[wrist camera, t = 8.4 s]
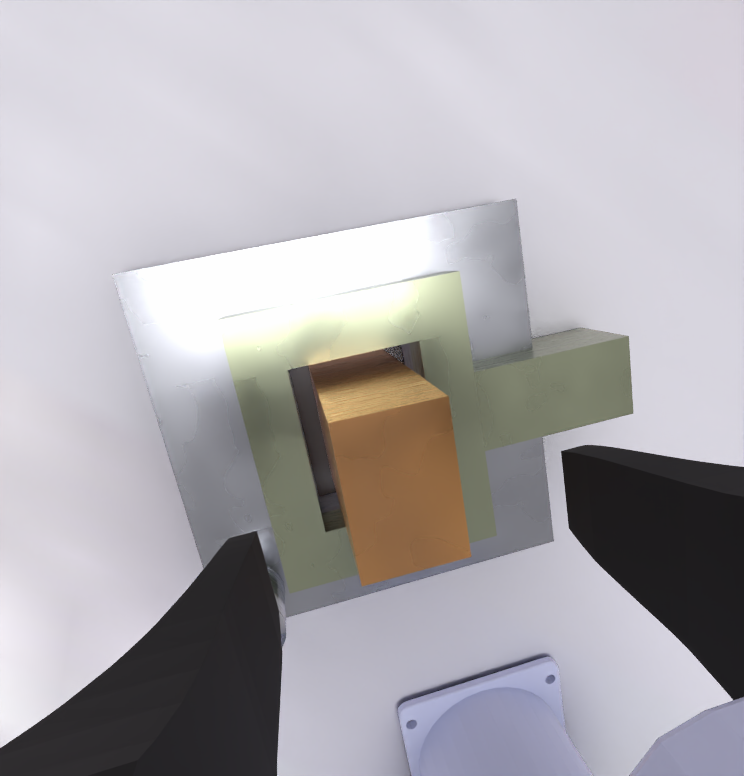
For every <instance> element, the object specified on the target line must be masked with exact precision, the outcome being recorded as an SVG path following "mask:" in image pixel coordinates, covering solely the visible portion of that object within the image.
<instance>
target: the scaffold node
mask: <svg viewBox="0 0 744 776" xmlns="http://www.w3.org/2000/svg"><path fill="white" fill-rule="evenodd" d="M112 276H113V279H114V282H115V285H116V289H117V292H118V295H119V298H120V301H121V305H122V308H123V311H124V314H125V318H126V321H127V324H128V327H129V330H130V334H131V337H132V340H133V343H134V346H135V350H136V353H137V356H138V359H139V362H140V366H141V369H142V372H143V375H144V379H145V382H146V385H147V388H148V391H149V395H150V398H151V401H152V404H153V407H154V411H155V414H156V417H157V420H158V423H159V427H160V430H161V433H162V436H163V440H164V443H165V446H166V449H167V452H168V456H169V459H170V462H171V465H172V468H173V472H174V475H175V478H176V481H177V484H178V488H179V491H180V494H181V497H182V501H183V504H184V507H185V510H186V513H187V517H188V520H189V523H190V526H191V529H192V533H193V536H194V539H195V542H196V545H197V549H198V552H199V555H200V558H201V562H202V565H203V568H205V567H206V566H207V564H208V563H209V562H210V561H211V559H212V558H213V557H214V556H215V554H216V553H217V552H218V550H219V549H220V548H221V547H222V545H223V544H224V543H225V542H226V541H227V540H228V539H229V538H231V537H235V536H239V535H243V534H246V533H250V532H254V531H257V532H258V536H259V540H260V543H261V547H262V551H263V554H264V558H265V562H266V565H267V569H268V572H269V576H270V580H271V583H272V587H273V591H274V594H275V598H276V602H277V605H278V609H279V617H280V629H281V642H282V646H283V644H284V642H285V638H286V617H290V616H293V615H297V614H300V613H304V612H307V611H311V610H314V609H318V608H321V607H325V606H328V605H332V604H335V603H339V602H342V601H346V600H349V599H353V598H356V597H360V596H363V595H367V594H370V593H374V592H377V591H381V590H384V589H388V588H391V587H395V586H398V585H402V584H405V583H409V582H412V581H416V580H419V579H423V578H426V577H430V576H433V575H437V574H440V573H444V572H447V571H451V570H454V569H458V568H461V567H465V566H468V565H472V564H475V563H479V562H482V561H486V560H489V559H493V558H496V557H500V556H503V555H507V554H510V553H514V552H517V551H521V550H524V549H528V548H531V547H535V546H538V545H542V544H545V543H549V542H552V541H554V539H553V530H552V520H551V511H550V502H549V493H548V484H547V475H546V466H545V457H544V447H543V438H542V437H543V436H547V435H550V434H554V433H558V432H562V431H566V430H570V429H574V428H578V427H582V426H586V425H590V424H594V423H597V422H601V421H605V420H609V419H613V418H617V417H621V416H625V415H629V414H633V400H632V384H631V367H630V351H629V336H625V335H619V334H614V333H608V332H603V331H597V330H591V329H586V328H578V329H573V330H569V331H564V332H560V333H556V334H551V335H547V336H542V337H538V338H534V339H532V338H531V329H530V320H529V311H528V301H527V292H526V283H525V274H524V265H523V256H522V247H521V238H520V228H519V219H518V210H517V201H516V199H512V200H507V201H502V202H496V203H491V204H486V205H480V206H475V207H470V208H464V209H459V210H454V211H448V212H443V213H438V214H432V215H427V216H422V217H416V218H411V219H406V220H400V221H395V222H390V223H384V224H379V225H373V226H368V227H363V228H357V229H352V230H347V231H341V232H336V233H331V234H325V235H320V236H315V237H309V238H304V239H299V240H293V241H288V242H283V243H277V244H272V245H267V246H261V247H256V248H251V249H245V250H240V251H235V252H229V253H224V254H219V255H213V256H208V257H203V258H197V259H192V260H186V261H181V262H176V263H170V264H165V265H160V266H154V267H149V268H144V269H138V270H133V271H128V272H122V273H117V274H112ZM398 345H401V348H402V353H403V359H404V365H406V366H407V367H408V368H410V369H411V370H413V371H414V372H415V373H417V374H418V375H420V376H421V377H422V378H424V379H425V380H427V381H428V382H429V383H431V384H432V385H434V386H435V387H436V388H438V389H439V390H441V391H442V392H444V393H445V394H446V395H448V396H449V402H450V409H451V416H452V423H453V430H454V437H455V445H456V452H457V459H458V466H459V473H460V480H461V487H462V494H463V501H464V508H465V515H466V522H467V529H468V536H469V543H470V550H471V557H469V558H465V559H462V560H458V561H454V562H451V563H447V564H443V565H439V566H436V567H432V568H428V569H425V570H421V571H417V572H414V573H410V574H406V575H403V576H399V577H395V578H391V579H388V580H384V581H380V582H377V583H373V584H369V585H366V586H362V585H361V581H360V578H359V574H358V570H357V567H356V563H355V559H354V556H353V552H352V548H351V545H350V541H349V537H348V534H347V530H346V526H345V523H344V519H343V515H342V512H341V508H340V504H339V501H338V497H337V493H336V492H335V493H331V494H327V495H323V496H319V495H318V491H317V487H316V482H315V478H314V474H313V470H312V465H311V461H310V457H309V453H308V448H307V444H306V440H305V436H304V431H303V427H302V423H301V419H300V414H299V410H298V406H297V402H296V398H295V393H294V389H293V385H292V381H291V376H290V372H289V370H290V369H294V368H299V367H303V366H308V365H312V364H317V363H321V362H326V361H330V360H335V359H339V358H344V357H348V356H353V355H357V354H362V353H367V352H371V351H376V350H380V349H385V348H389V347H394V346H398Z"/></svg>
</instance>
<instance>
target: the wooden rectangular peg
mask: <svg viewBox="0 0 744 776" xmlns="http://www.w3.org/2000/svg"><path fill="white" fill-rule="evenodd" d="M308 367H309V372H310V377H311V381H312V386H313V391H314V396H315V400H316V405H317V410H318V415H319V419H320V424H321V429H322V433H323V438H324V443H325V448H326V452H327V457H328V462H329V467H330V471H331V475H332V479H333V482H334V486H335V490H336V493H337V497H338V501H339V504H340V508H341V512H342V515H343V519H344V523H345V526H346V530H347V534H348V537H349V541H350V545H351V548H352V552H353V556H354V559H355V563H356V567H357V570H358V574H359V578H360V581H361V585H362V586H366V585H369V584H373V583H377V582H380V581H384V580H388V579H391V578H395V577H399V576H403V575H406V574H410V573H414V572H417V571H421V570H425V569H428V568H432V567H436V566H439V565H443V564H447V563H451V562H454V561H458V560H462V559H465V558H469V557H471V550H470V543H469V536H468V529H467V522H466V515H465V508H464V501H463V494H462V487H461V480H460V473H459V466H458V459H457V452H456V445H455V437H454V430H453V423H452V416H451V409H450V402H449V396H448V395H446V394H445V393H444V392H442V391H441V390H439V389H438V388H436V387H435V386H434V385H432V384H431V383H429V382H428V381H427V380H425V379H424V378H422V377H421V376H420V375H418V374H417V373H415V372H414V371H413V370H411V369H410V368H408V367H407V366H406V365H404V364H403V363H401V362H400V361H399V360H397V359H396V358H394V357H393V356H392V355H390V354H389V353H387V352H386V351H385V350H383V349H381V350H376V351H372V352H367V353H362V354H357V355H353V356H348V357H344V358H339V359H335V360H330V361H326V362H321V363H317V364H312V365H308Z"/></svg>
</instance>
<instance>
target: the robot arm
mask: <svg viewBox="0 0 744 776" xmlns="http://www.w3.org/2000/svg"><path fill="white" fill-rule="evenodd" d="M561 454H562V464H563V473H564V483H565V493H566V503H567V513H568V523H569V529H570V530H571V531H572V533H573V534H574V535H575V537H576V538H577V539H578V540H579V542H580V543H581V544H582V546H583V547H584V548H585V549H586V550H587V552H588V553H589V554H590V555H591V556H592V558H593V559H594V560H595V561H596V562H597V563H598V564H599V565H600V566H601V567H602V568H603V569H604V570H605V571H606V572H607V573H608V574H609V575H610V576H611V577H613V578H614V579H615V580H616V581H617V582H618V583H619V584H620V585H621V586H622V587H623V588H624V589H625V590H626V591H627V592H629V593H630V594H631V595H632V596H633V597H634V598H635V599H636V600H637V601H638V602H639V603H640V604H642V605H643V606H644V607H645V608H646V609H647V610H648V611H649V612H650V613H651V614H652V615H653V616H655V617H656V618H657V619H658V620H659V621H660V622H661V623H662V624H663V625H664V626H665V627H666V628H667V629H669V630H670V631H671V632H672V633H673V634H674V635H675V636H676V637H677V638H678V639H679V640H680V641H681V642H682V643H683V644H684V645H685V646H686V647H687V648H688V649H689V650H690V651H691V652H692V654H693V655H694V656H695V657H696V658H697V659H698V660H699V661H700V663H701V664H702V665H703V666H704V667H705V668H706V669H707V670H708V672H709V673H710V674H711V675H712V676H713V677H714V678H715V679H716V680H717V682H718V683H719V684H720V685H721V686H722V687H723V688H724V689H725V691H726V692H727V693H728V694H729V695H730V696H731V698H732V699H733V700H734V701H731V702H728V703H725V704H722V705H719V706H716V707H713V708H711V709H708V710H705V711H703V712H701V713H700V714H698V715H696V716H695V717H693V718H691V719H690V720H688V721H686V722H685V723H683V724H681V725H679V726H678V727H676V728H674V729H673V730H671V731H669V732H668V733H666V734H664V735H663V736H661V737H659V738H658V739H657V740H656V741H655V743H654V744H653V745H652V747H651V748H650V749H649V751H648V752H647V753H646V754H645V756H644V757H643V758H642V760H641V761H640V762H639V763H638V765H637V766H636V767H635V769H634V770H633V771H632V773H631V774H630V775H629V776H744V467H738V466H729V465H722V464H714V463H707V462H699V461H693V460H686V459H680V458H674V457H667V456H662V455H656V454H650V453H644V452H638V451H632V450H626V449H620V448H613V447H606V446H596V445H583V446H580V447H576V448H572V449H568V450H564V451H561ZM281 671H282V642H281V629H280V617H279V609H278V605H277V602H276V598H275V594H274V591H273V587H272V583H271V580H270V576H269V572H268V569H267V565H266V562H265V558H264V554H263V551H262V547H261V543H260V540H259V536H258V532H257V531H254V532H250V533H246V534H243V535H239V536H235V537H231V538H229V539H228V540H227V541H226V542H225V543H224V544H223V545H222V547H221V548H220V549H219V550H218V552H217V553H216V554H215V556H214V557H213V558H212V559H211V561H210V562H209V563H208V564H207V566H206V567H205V568H204V569H203V571H202V572H201V573H200V574H199V576H198V577H197V578H196V579H195V581H194V582H193V583H192V584H191V586H190V587H189V588H188V589H187V590H186V592H185V593H184V594H183V595H182V596H181V597H180V598H179V599H178V600H177V602H176V603H175V604H174V605H173V606H172V607H171V608H170V609H169V610H168V611H167V613H166V614H165V615H164V616H163V617H162V618H161V619H160V620H159V621H158V623H157V624H156V625H155V626H154V627H153V628H152V629H151V630H150V631H149V632H148V633H147V634H146V635H145V636H144V637H143V638H142V639H141V640H140V641H138V642H137V643H136V644H135V645H134V646H133V647H132V648H131V649H130V650H129V651H128V652H126V653H125V654H124V655H123V656H122V657H121V658H120V659H119V660H118V661H117V662H115V663H114V664H113V665H112V666H111V667H110V668H108V669H107V670H106V671H105V672H103V673H102V674H101V675H100V676H98V677H97V678H96V679H95V680H93V681H92V682H91V683H90V684H88V685H87V686H86V687H85V688H83V689H82V690H81V691H80V692H78V693H77V694H76V695H75V696H73V697H72V698H71V699H70V700H68V701H67V702H66V703H65V704H63V705H62V706H60V707H59V708H58V709H56V710H55V711H54V712H52V713H51V714H49V715H48V716H47V717H45V718H44V719H42V720H41V721H40V722H38V723H37V724H35V725H34V726H33V727H31V728H30V729H28V730H27V731H25V732H24V733H22V734H21V735H19V736H18V737H16V738H15V739H13V740H12V741H10V742H9V743H7V744H6V745H4V746H3V747H2V748H0V776H277V750H278V730H279V711H280V692H281ZM549 675H550V676H549ZM547 676H549V677H547ZM546 677H547V678H546ZM398 717H399V722H400V726H401V731H402V735H403V740H404V744H405V749H406V754H407V758H408V763H409V767H410V772H411V776H593V774H592V773H591V771H590V770H589V768H588V766H587V765H586V763H585V762H584V760H583V758H582V757H581V755H580V754H579V752H578V751H577V749H576V747H575V746H574V744H573V743H572V741H571V739H570V738H569V736H568V735H567V733H566V730H565V721H564V712H563V703H562V695H561V686H560V677H559V669H558V665H557V663H556V662H555V660H554V659H553V658H551V657H544V658H541V659H537V660H534V661H531V662H528V663H525V664H522V665H519V666H515V667H512V668H509V669H506V670H503V671H500V672H497V673H493V674H490V675H487V676H484V677H481V678H478V679H475V680H471V681H468V682H465V683H462V684H459V685H456V686H453V687H449V688H446V689H443V690H440V691H437V692H434V693H431V694H427V695H424V696H421V697H418V698H415V699H412V700H409V701H406V702H404V703H402V704H401V705H400V706H399V708H398ZM410 720H413V721H411V722H408V721H410Z"/></svg>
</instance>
